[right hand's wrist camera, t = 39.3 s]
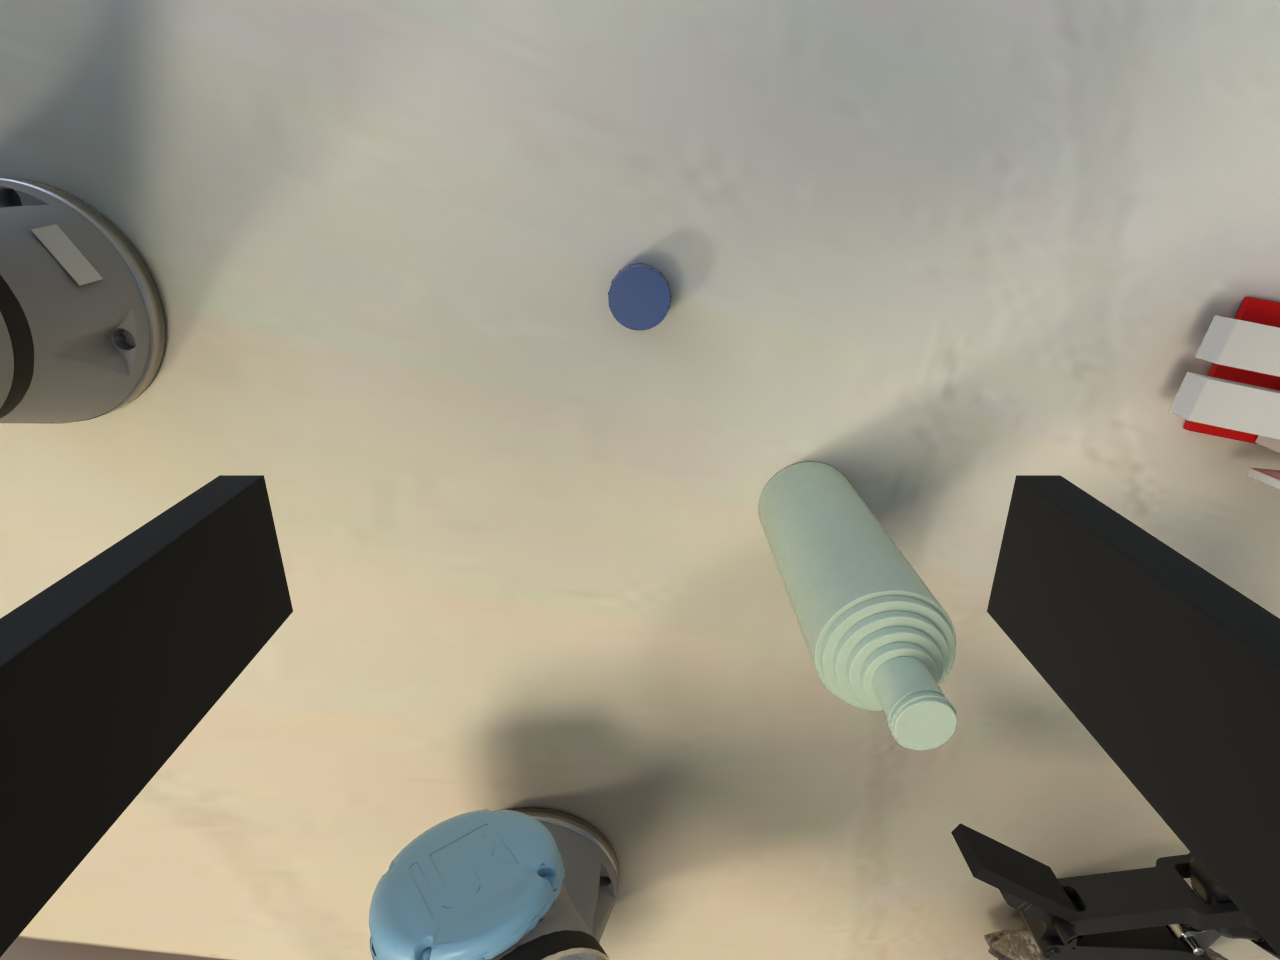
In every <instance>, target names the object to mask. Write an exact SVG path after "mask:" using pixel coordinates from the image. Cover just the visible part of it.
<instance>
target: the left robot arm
mask: <svg viewBox="0 0 1280 960" xmlns="http://www.w3.org/2000/svg"><path fill="white" fill-rule="evenodd" d="M951 833H952V835H953V837H954V839H955V841H956V843H957V844H958V846H959V848H960V850H961V852H962V854H963V856H964V858H965V860H966V862H967V864H968V866H969V868H970V870H971V872H972V874H973V876H974V877H975V878H977V879H979V880H981V881H983V882H986V883H988V884H990V885H992V886H994V887H996V888H998V889H999V890H1000V892H1001V894H1002V895H1003V897H1004V899H1005V901H1006V902H1007V903H1008V904H1009V905H1010V906H1012V907H1014V908H1016V909H1018V910H1020V914H1021V916H1022V918H1023V920H1024V922H1025V924H1026V926H1027V927H1028V929H1029V931H1030V933H1031V935H1032V937H1033V938H1034V940H1035V942H1036V944H1037V946H1038V948H1039V949H1040V951H1041V953H1042V955H1043V957H1044V958H1045V959H1047V960H1212V959H1211V958H1210V956H1209V955H1208V954H1207V952H1206V951H1205V950H1206V949H1207V948H1208V947H1209V946H1210V945H1211V944H1213V943H1214V942H1215V941H1216V940H1217V939H1218V938H1219V937H1220V936H1221V935H1223V936H1225V937H1228V938H1243V939H1249V940H1250V941H1252V942H1254V943H1255V944H1256V945H1258V946H1259V947H1261V948H1262V949H1264V950H1265V951H1267V952H1269V953H1270V954H1272V955H1273V956H1275V957H1277V958H1279V959H1280V957H1279V956H1278V955H1277V953H1276V952H1275V951H1274V950H1273V949H1272V947H1271V946H1270V945H1269V944H1268V943H1267V942H1266V940H1265V939H1264V938H1263V937H1262V936H1261V934H1260V933H1259V932H1258V931H1257V930H1256V929H1255V927H1254V926H1253V925H1252V924H1251V923H1250V921H1249V920H1248V919H1247V918H1246V917H1245V916H1244V914H1243V913H1242V912H1241V911H1240V910H1239V908H1238V907H1237V906H1236V905H1235V904H1234V903H1233V901H1232V900H1231V899H1230V898H1229V897H1228V895H1227V894H1226V893H1225V892H1224V891H1223V890H1222V888H1221V887H1220V886H1219V885H1218V884H1217V882H1216V881H1215V880H1214V879H1213V878H1212V877H1211V875H1210V874H1209V873H1208V872H1207V871H1206V869H1205V868H1204V867H1203V866H1202V865H1201V864H1200V862H1199V861H1198V860H1197V859H1196V858H1195V856H1194V855H1193V854H1192V853H1191V852H1190V853H1189V854H1187V855H1178V856H1170V857H1162V858H1159V859H1157V861H1156V866H1155V867H1151V868H1143V869H1135V870H1127V871H1119V872H1111V873H1103V874H1094V875H1086V876H1078V877H1070V878H1062V879H1057V878H1056V876H1055V875H1054V873H1053V872H1052V870H1051V868H1050V867H1048V866H1046V865H1044V864H1042V863H1040V862H1038V861H1036V860H1034V859H1032V858H1030V857H1028V856H1026V855H1024V854H1022V853H1020V852H1018V851H1016V850H1014V849H1012V848H1010V847H1007V846H1005V845H1003V844H1001V843H999V842H997V841H995V840H993V839H991V838H989V837H987V836H985V835H983V834H981V833H979V832H977V831H975V830H973V829H971V828H969V827H967V826H965V825H962V824H959V825H958V826H957V827H956V828H955V829H954V830H953V831H952V832H951ZM1183 878H1191V884H1192V889H1193V890H1192V889H1191V887H1190V886H1189V885H1188V884H1187V883H1186V881H1185V880H1184V879H1183ZM617 886H618V865H617V859H616V856H615V853H614V851H613V849H612V847H611V846H610V844H609V843H608V841H607V840H606V839H605V838H604V837H603V835H602V834H601V833H600V832H598V831H597V830H596V829H595V828H593V827H592V826H591V825H589V824H588V823H586V822H584V821H583V820H580V819H578V818H576V817H574V816H571V815H569V814H566V813H563V812H559V811H554V810H549V809H540V808H523V809H514V810H506V809H503V810H499V811H493V812H491V811H489V810H478V811H473V812H469V813H465V814H461V815H458V816H455V817H453V818H450V819H448V820H446V821H443V822H441V823H439V824H437V825H435V826H434V827H432V828H430V829H429V830H427V831H425V832H424V833H422V834H421V835H419V836H418V837H417V838H415V839H414V840H413V841H412V842H411V843H409V844H408V845H407V846H406V847H405V848H404V849H403V850H402V851H401V852H400V853H399V854H398V855H397V856H396V857H395V858H394V860H393V861H392V862H391V864H390V866H389V870H388V871H387V873H386V874H384V875H383V876H382V877H381V879H380V881H379V882H378V884H377V886H376V889H375V891H374V894H373V897H372V901H371V905H370V912H369V926H370V933H371V939H370V951H371V954H372V957H373V960H610V959H609V957H608V956H607V954H606V953H605V952H604V950H603V949H602V947H601V946H600V944H599V941H600V939H601V936H602V934H603V931H604V928H605V926H606V923H607V921H608V918H609V916H610V913H611V910H612V908H613V905H614V902H615V897H616V893H617Z"/></svg>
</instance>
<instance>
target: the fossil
mask: <svg viewBox="0 0 1280 960" xmlns="http://www.w3.org/2000/svg"><path fill="white" fill-rule="evenodd" d="M984 936H985V940H986V941H987V943H988V945H989V946H990V949H989V951H988V952H989V953H990V954H992V955H993V956H994V957H996V958H998V960H1047V959H1045V958H1044V957H1043V955H1042V953H1041V951H1040V949H1039V948H1038V946H1037V944H1036V942H1035V940H1034V938H1033V937H1032V935H1031V933H1030V931H1029V930H1025V931H1012V930H1001V931H998V932H993V933H990V934H987V935H984ZM1205 951H1206V952H1207V954H1208V955H1209V956H1210V958H1211V959H1212V960H1228V959H1226V958H1225V957H1223V956H1222V955H1221V954H1219V953H1216V952H1215V951H1213V950H1212V949H1210V948H1207V949H1206V950H1205Z"/></svg>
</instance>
